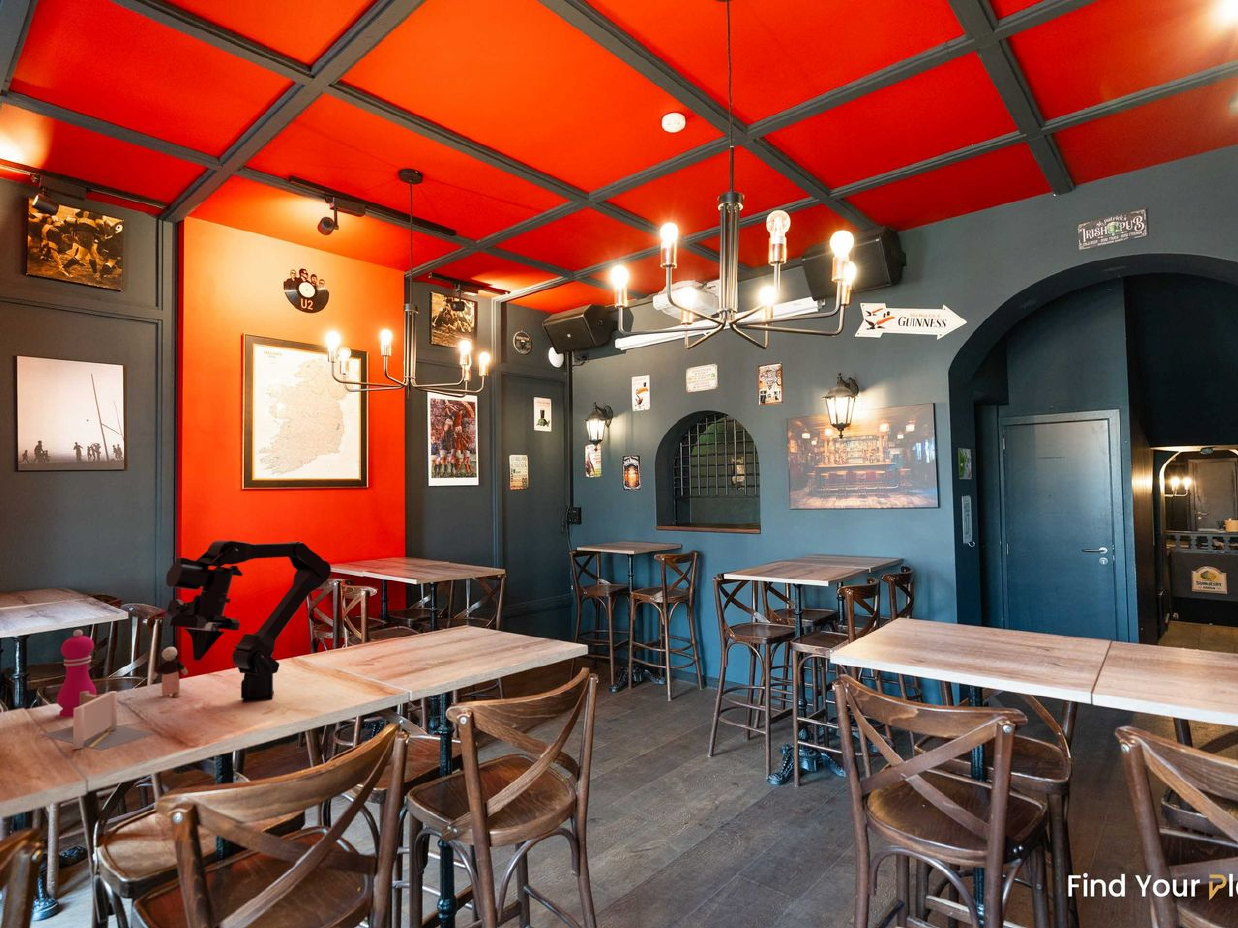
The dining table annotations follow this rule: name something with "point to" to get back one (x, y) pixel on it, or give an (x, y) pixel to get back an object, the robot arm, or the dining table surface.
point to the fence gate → (94, 718)
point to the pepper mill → (75, 672)
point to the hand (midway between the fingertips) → (196, 660)
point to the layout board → (104, 737)
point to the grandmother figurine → (170, 673)
